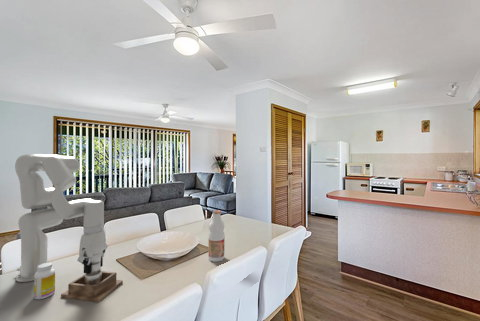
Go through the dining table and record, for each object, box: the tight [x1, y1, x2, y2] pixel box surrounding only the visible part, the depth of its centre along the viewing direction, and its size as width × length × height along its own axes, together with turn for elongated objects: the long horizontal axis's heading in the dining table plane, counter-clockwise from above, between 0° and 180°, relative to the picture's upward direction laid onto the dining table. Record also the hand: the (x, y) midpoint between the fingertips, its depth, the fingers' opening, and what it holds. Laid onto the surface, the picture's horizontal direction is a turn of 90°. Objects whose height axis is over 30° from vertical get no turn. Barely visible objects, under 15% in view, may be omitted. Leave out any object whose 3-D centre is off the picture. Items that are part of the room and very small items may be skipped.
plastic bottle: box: [85, 246, 102, 285], centre depth 97 cm, size 6×7×20 cm
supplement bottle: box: [33, 262, 56, 300], centre depth 93 cm, size 7×7×13 cm
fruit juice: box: [207, 209, 225, 263], centre depth 129 cm, size 9×9×28 cm
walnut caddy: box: [60, 270, 124, 303], centre depth 97 cm, size 18×14×5 cm
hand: (93, 269), depth 97 cm, fingers closed on plastic bottle, 5 cm apart
